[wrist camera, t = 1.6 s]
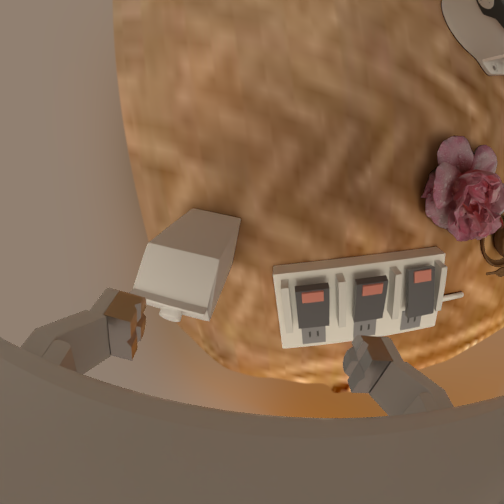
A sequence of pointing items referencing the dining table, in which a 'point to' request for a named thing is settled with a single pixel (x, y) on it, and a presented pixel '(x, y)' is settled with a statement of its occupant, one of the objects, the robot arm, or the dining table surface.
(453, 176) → the flower
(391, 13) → the dining table surface
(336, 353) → the dining table surface
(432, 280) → the rocker near arm
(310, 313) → the rocker far end
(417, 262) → the power strip
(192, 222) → the milk carton
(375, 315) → the rocker middle
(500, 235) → the place setting
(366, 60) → the dining table surface
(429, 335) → the dining table surface
